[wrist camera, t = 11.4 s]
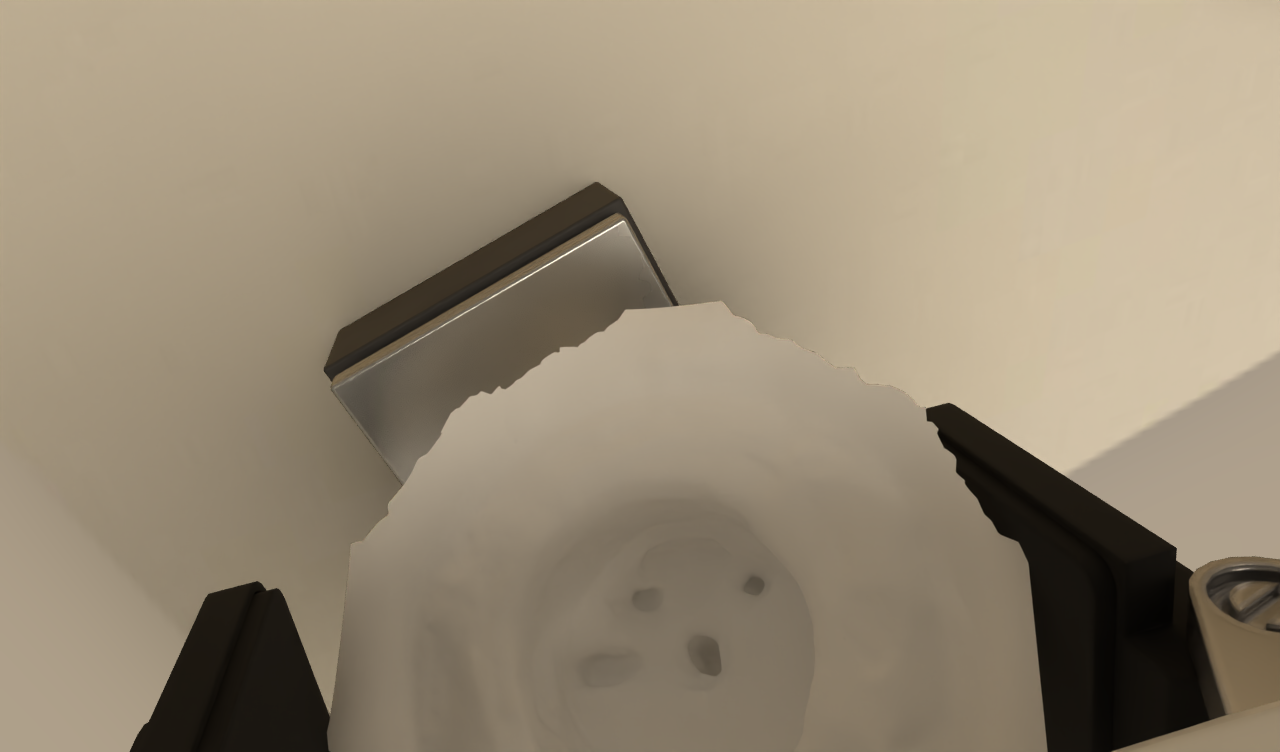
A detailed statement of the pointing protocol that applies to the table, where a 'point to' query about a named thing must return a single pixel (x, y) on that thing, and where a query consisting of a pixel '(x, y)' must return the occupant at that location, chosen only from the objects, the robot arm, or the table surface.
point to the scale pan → (495, 339)
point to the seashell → (687, 566)
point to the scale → (479, 275)
